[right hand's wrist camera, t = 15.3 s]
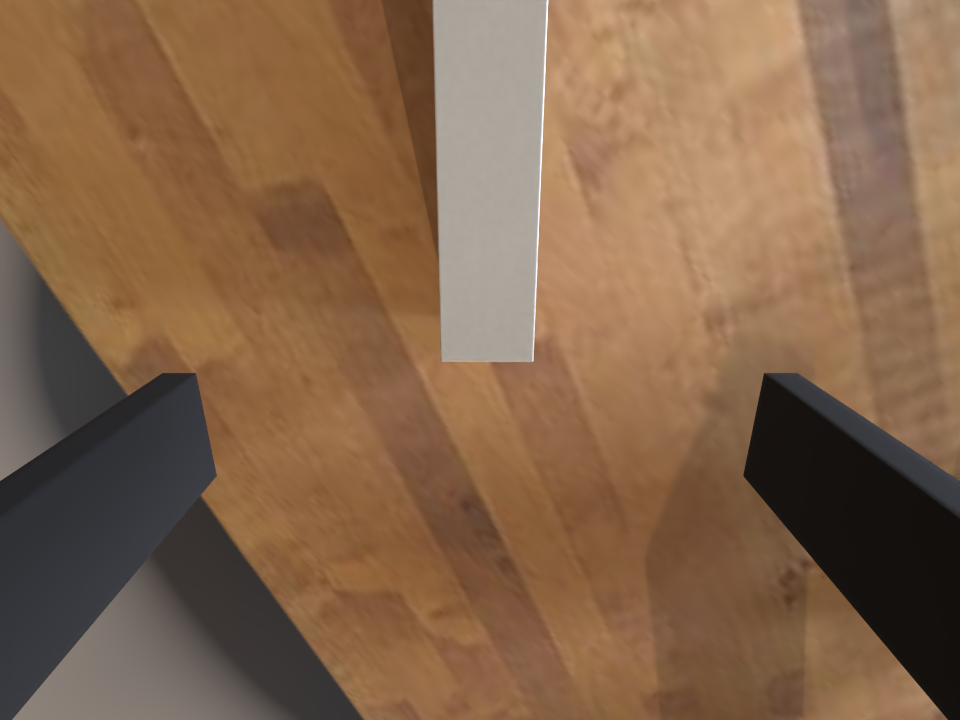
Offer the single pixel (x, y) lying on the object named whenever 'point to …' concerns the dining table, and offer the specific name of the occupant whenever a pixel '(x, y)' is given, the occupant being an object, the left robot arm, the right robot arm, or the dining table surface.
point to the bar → (488, 174)
